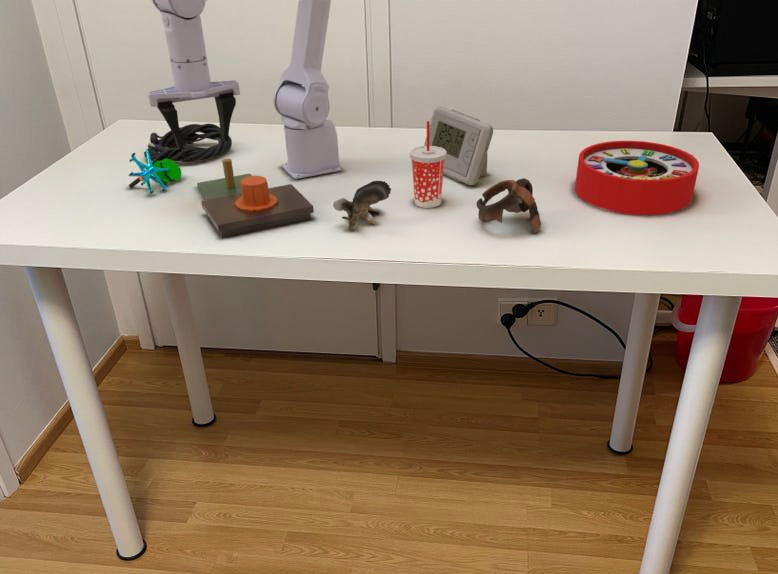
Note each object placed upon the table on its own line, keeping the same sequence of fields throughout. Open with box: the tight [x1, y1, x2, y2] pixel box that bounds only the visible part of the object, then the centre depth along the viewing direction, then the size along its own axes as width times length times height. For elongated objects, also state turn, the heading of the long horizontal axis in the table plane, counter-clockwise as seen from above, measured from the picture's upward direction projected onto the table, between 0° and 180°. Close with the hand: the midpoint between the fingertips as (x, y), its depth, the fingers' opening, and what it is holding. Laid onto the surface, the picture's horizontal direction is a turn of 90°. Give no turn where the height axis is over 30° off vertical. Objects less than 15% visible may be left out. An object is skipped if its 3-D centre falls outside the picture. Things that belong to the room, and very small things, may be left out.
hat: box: [235, 175, 278, 212], centre depth 122 cm, size 7×7×4 cm
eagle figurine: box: [332, 180, 392, 231], centre depth 121 cm, size 8×7×9 cm
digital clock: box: [423, 105, 494, 186], centre depth 137 cm, size 16×9×11 cm, turn 23°
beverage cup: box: [409, 120, 446, 209], centre depth 125 cm, size 6×6×14 cm
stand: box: [200, 183, 315, 239], centre depth 124 cm, size 16×11×2 cm
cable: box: [143, 123, 233, 163], centre depth 150 cm, size 17×14×4 cm
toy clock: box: [574, 140, 700, 216], centre depth 129 cm, size 20×6×20 cm
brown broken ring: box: [475, 177, 542, 234], centre depth 120 cm, size 12×10×8 cm
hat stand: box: [196, 158, 253, 200], centre depth 132 cm, size 10×10×6 cm
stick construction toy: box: [128, 149, 182, 195], centre depth 136 cm, size 12×7×8 cm
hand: (202, 143), depth 125 cm, fingers open, 7 cm apart
